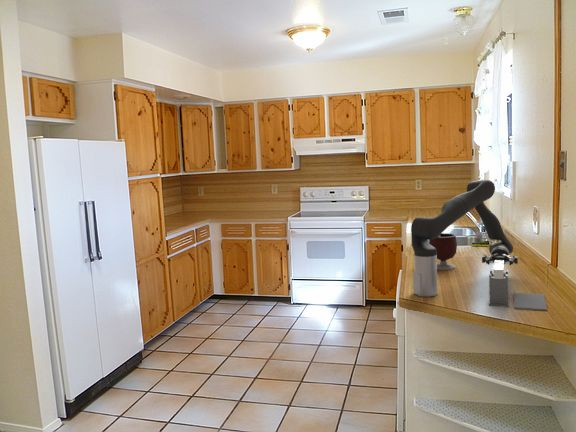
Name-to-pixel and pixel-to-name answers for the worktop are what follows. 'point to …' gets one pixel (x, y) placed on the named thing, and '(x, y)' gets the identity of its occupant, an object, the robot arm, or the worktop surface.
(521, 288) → the worktop surface
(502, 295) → the rack
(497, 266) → the rail
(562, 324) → the worktop surface
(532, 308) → the mat
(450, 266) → the mate gourd
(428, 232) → the robot arm
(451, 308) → the worktop surface
